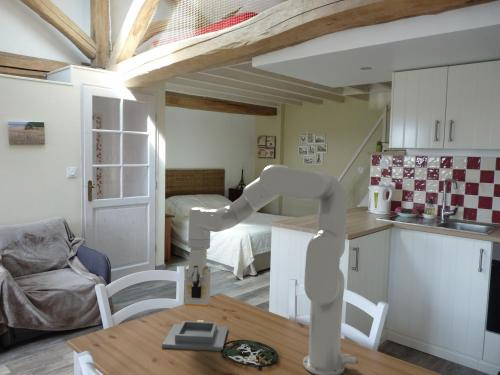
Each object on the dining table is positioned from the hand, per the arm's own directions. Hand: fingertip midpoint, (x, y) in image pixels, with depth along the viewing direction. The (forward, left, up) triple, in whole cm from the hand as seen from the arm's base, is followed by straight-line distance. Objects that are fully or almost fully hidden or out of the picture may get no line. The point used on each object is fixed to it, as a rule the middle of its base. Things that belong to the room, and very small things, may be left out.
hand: (197, 294), depth 139 cm
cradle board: (0, 0, -16) cm, 16 cm away
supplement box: (0, 0, -4) cm, 4 cm away
